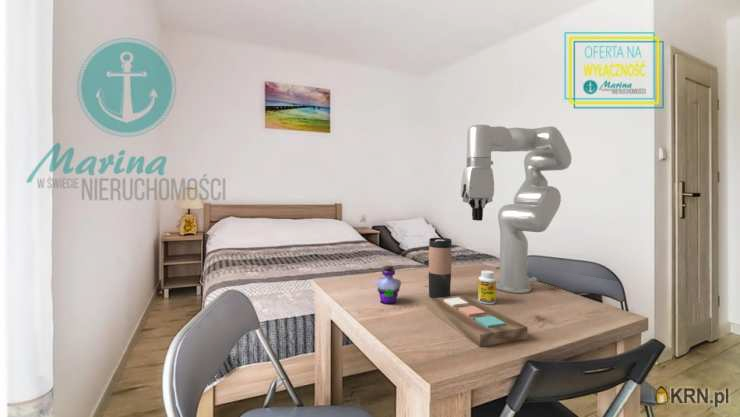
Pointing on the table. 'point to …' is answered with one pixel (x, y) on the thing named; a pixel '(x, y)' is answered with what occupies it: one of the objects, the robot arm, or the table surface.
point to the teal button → (489, 321)
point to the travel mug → (439, 267)
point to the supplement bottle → (487, 287)
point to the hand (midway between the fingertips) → (477, 220)
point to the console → (473, 328)
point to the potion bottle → (388, 286)
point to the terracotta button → (471, 311)
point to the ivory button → (455, 302)
